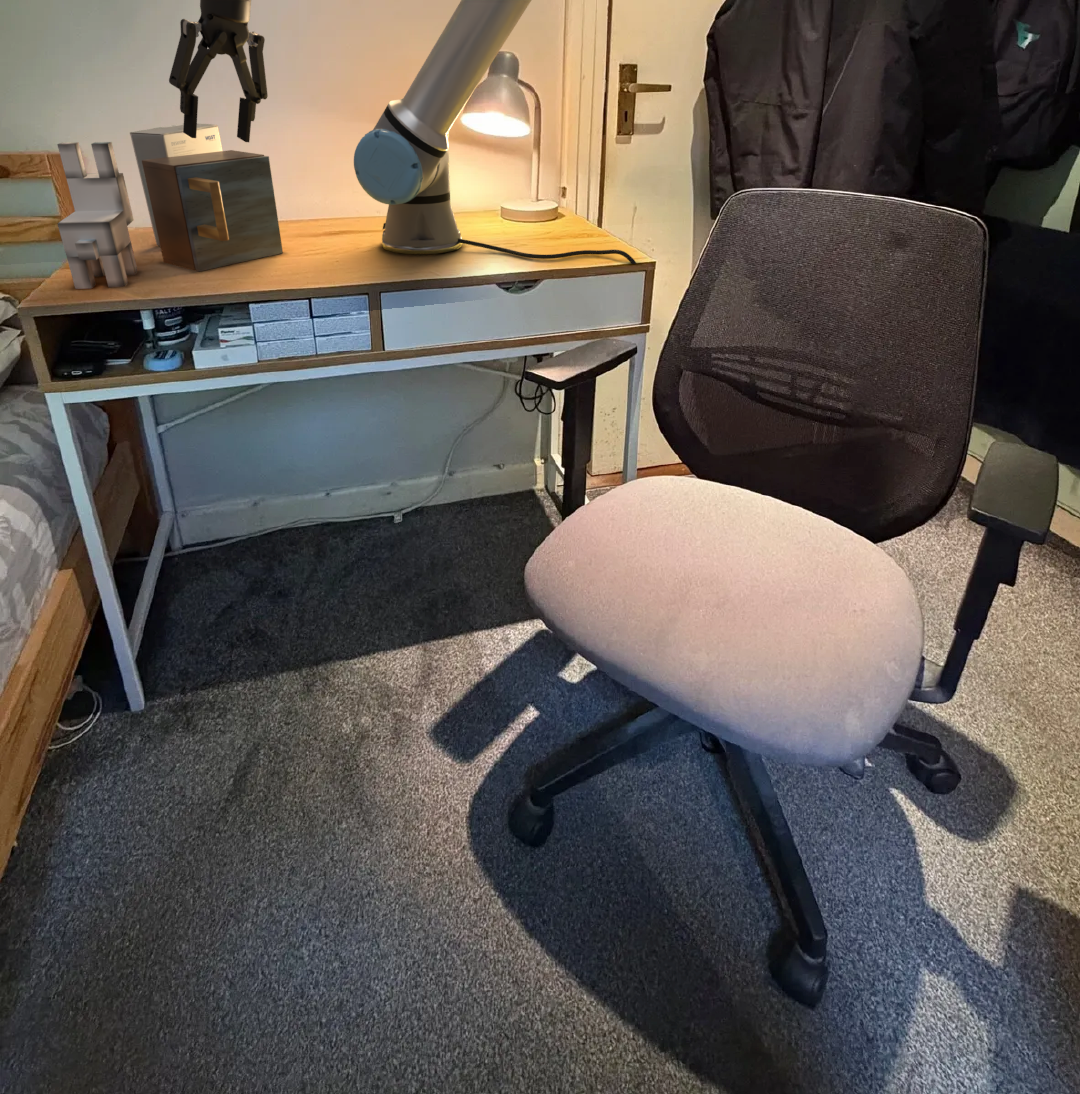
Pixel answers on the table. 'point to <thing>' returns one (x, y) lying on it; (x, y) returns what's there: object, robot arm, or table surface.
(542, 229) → the table surface
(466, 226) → the table surface
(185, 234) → the cupboard
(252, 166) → the cupboard door
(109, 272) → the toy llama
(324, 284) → the table surface
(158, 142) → the hard drive box
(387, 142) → the robot arm
